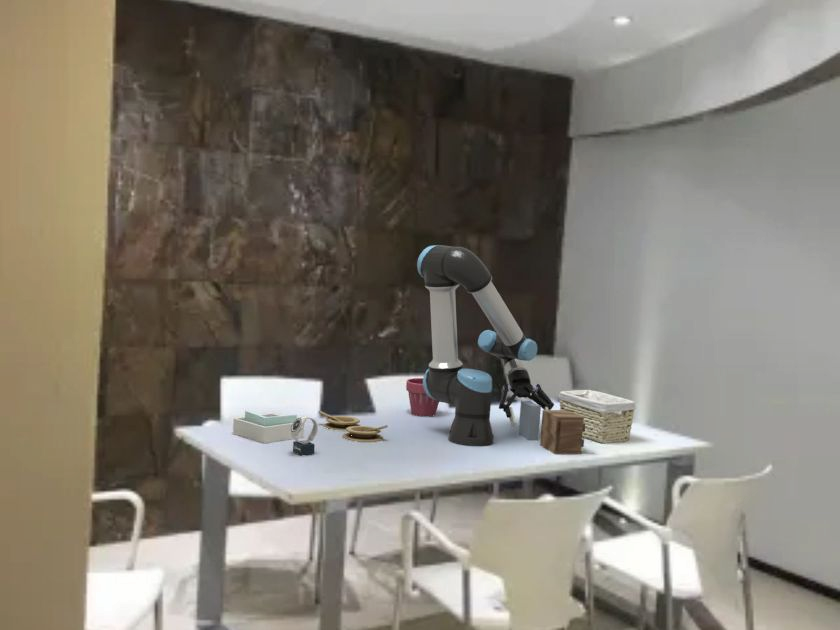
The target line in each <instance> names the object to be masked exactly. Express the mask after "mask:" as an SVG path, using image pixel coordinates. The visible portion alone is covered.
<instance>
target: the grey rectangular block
mask: <svg viewBox="0 0 840 630" xmlns="http://www.w3.org/2000/svg"><path fill="white" fill-rule="evenodd" d="M541 409H542V407H541V406H540V405H538V404H537V403H535V402H534V401H531V400H521V401H520V409H519V411H520V412H519V422H518V424H519V425H518V436H519V437H522V438H524V439H525V440H527V441H529V442H530V441H531V442H533V441H534V442H536V441H537V442H538V441H539V438H540V435H539V434H540V422H541V412H542V411H541Z"/></svg>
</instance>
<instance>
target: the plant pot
mask: <svg viewBox="0 0 840 630" xmlns="http://www.w3.org/2000/svg"><path fill="white" fill-rule="evenodd" d="M405 390H406V392H408V393H407V394H408V398H409V399H408V400H409V406H410V412H411V414H412V416H416V415H417V416H416V417H423V416H429V417H434V416H436V414H437V410H438V407H439V404H440V402H438V401H436V400H434V399H432V398H430V397H429V396H428V395H427V394H426V392H425V390H424V387H423V378H422V377H417V378H416V377H413V378H408V379H407V380H406V385H405ZM433 415H434V416H433Z"/></svg>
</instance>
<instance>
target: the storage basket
mask: <svg viewBox="0 0 840 630" xmlns="http://www.w3.org/2000/svg"><path fill="white" fill-rule="evenodd" d="M558 395H559V396H558V399H559V407H560V408H559V410H568V411H570V412H572V413H575V414H577V415H579V416H581V417H584V421H583V424H585V432H583V433H582V439H585V438H586V440H590V441H593V442H596V443H600V444H611V443H621V442H622V443H623V442H627V441H628V442H629V440H630V437H631V430H632V425H633V419H634V412H635V410H636V408H637V407H636V402H635V401H634V400H630V399H627V398H623V397H622V396H621V397H620V396H616V395H613V394H609V393H605V392H602V391H598V390H591V389H580V390H579V389H577V390H576V389H575V390H565V391H564V390H561V391H560V392H559V394H558Z"/></svg>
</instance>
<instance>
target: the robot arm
mask: <svg viewBox="0 0 840 630" xmlns="http://www.w3.org/2000/svg"><path fill="white" fill-rule="evenodd" d="M416 265H417V266H416V267H417V268H416V269H417V272H418V274H419V275H420V277H421V278H423V279H424V287H425V288H426V289H427V290H428V291H429V298H430V299H429V300H430V301H429V303H430V304H429V305H430V321H431V323H430V325H431V346H432V347H431V348H432V349H431V350H432V359H431V361H430V362H429V363H428V369H426V371H425V374H423V387H424V390H425V392H426V394H427V395H428V396H429V397H430V398H432V399H434V400H436V401H438V402H439V403H444V404H448V405H451V406H455V407H454V409H455V410H454V411H455V412H454V418H453V421H452V424H451V426H450V428H449V431H448V437H447V439H448V441H449V442H452V443H455V444H458V445H464V446H475V447H477V446H478V447H480V446H488V445H492V444H493V443H494V439H495V437H494V432H493V428H492V424H491V419H490V418H491V416H490V415H491V405H492V393H493V378H492V376H491V375H490V374H489V373H487V372H486V371H482V370H478V369H475V368H463V367H464V366H463V365H464V363H463V362H462V361H461V360H460V359H459V355H458V354H459V353H458V329H457V307H456V306H457V303H456V290H457V288H459V286H460V285H461V286H463V287H464V289H465V290H466V292H467V293H468V294H472V296H473V297H474V299H475V301H476V302H477V304H478V306H479V307H480V308H481V310H482V312H483V313H484V315H485V316H486V318H487V319H488V321H489V322H490V324H491V326H492V327H493V329H494V331H492V330H490V329H487V330H486V329H485V330H484V331H482V332H481V333H480V334H479V336H478V340H477V345H478V347H479V349H481V350H483V351H484V352H485V353H487V354H490V355H492V356H495V357H497V358H498V359H499V360H501V361H502V362H503V365H504V369H505V374H506V376H507V380H508V383H509V384H508V383H504V384H503V387H502V388H501V389H502V394H501V397H500V401H499V406H498V409H499V410H502V411H503V412H504V413H505V416H506V418H508V419H509V422H510V426H511V428H514V427H515V425H516V424H517V420H516V416H515V413H514V410H513V407H512V406H511V405H512V403H513V402H514V401H515V399H516V398H517V397H518V398H520V399H521V398H524V399H527V398H528V399H529V400H532V402H533V403H535V404H537V405H540V406H541V409H542V410H553V408H554V406H555V403H554V402H553V400H552V399H551V398H550V397H549V396H548V395H547V393H546V392H545V391H544V390H543V388H542V387H541V385H540V384H539V383H537V384H536V385H533V384H532V383H531V378H530V374H529V370H528V368H527V364H526V362H527V361H528V362H529V361H532V360H534V358H535V357H536V356H537V353H538V344H537V343H536V341H534V340H533V339H531V338H526V336H525V334H524V333H523V331H522V329H521V328H520V326H519V324H518V322H517V321H516V319H515V318H514V316H513V314H512V313H511V311H510V310H509V308H508V306H507V305H506V303H505V301H504V300H503V298H502V296H501V295H500V293H499V292H498V290H497V288H496V287H495V285H494V284H493V282H492V281H493V276H492V274H491V273H490V271H489V270H488V268H487V266H486V265H485V264H484V263H483V261H482V260H481V259H480V258H479V257H478V256H477V255H476V254H475V253H474V252H473V251H471V250H469V249H468V248H466V247H463V246H453V245H450V246H449V245H441V244H439V245H438V244H437V245H429V246H427V247H425V249H423V250H422V252H421V253H420V254H419V256H418V258H417V264H416ZM509 391H511V392H512V393H513V394H512V395H511V396H510V398H509V400H508V401H507V403H506V400H507V395H508V393H509ZM505 403H506V404H505Z"/></svg>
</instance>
